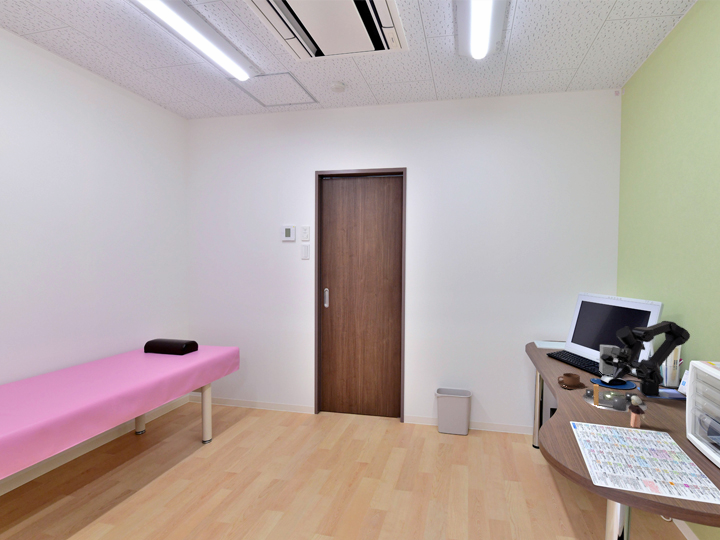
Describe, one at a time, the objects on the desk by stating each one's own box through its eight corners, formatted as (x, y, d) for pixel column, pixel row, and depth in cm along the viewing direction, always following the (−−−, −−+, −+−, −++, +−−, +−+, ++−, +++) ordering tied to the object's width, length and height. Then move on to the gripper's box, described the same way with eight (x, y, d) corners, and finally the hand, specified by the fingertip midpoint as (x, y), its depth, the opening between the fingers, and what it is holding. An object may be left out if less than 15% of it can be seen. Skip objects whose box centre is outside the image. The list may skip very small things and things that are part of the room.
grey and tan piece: (626, 407, 167) (626, 387, 167) (626, 411, 163) (626, 391, 163) (593, 402, 174) (593, 383, 173) (593, 405, 170) (593, 386, 169)
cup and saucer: (566, 392, 191) (566, 379, 191) (553, 384, 203) (553, 372, 203) (590, 391, 192) (590, 378, 192) (576, 383, 204) (576, 371, 204)
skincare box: (602, 376, 214) (602, 346, 213) (598, 372, 220) (598, 343, 220) (620, 377, 211) (620, 347, 211) (616, 373, 218) (616, 344, 217)
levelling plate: (636, 397, 183) (636, 386, 182) (656, 417, 160) (656, 405, 160) (577, 392, 190) (577, 381, 190) (588, 411, 168) (588, 399, 168)
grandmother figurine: (622, 425, 153) (622, 393, 153) (629, 424, 155) (629, 392, 154) (642, 434, 146) (643, 400, 146) (649, 432, 148) (650, 398, 147)
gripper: (602, 336, 187) (586, 362, 184) (643, 344, 170) (625, 374, 166) (614, 350, 190) (598, 377, 187) (655, 360, 173) (638, 389, 170)
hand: (614, 378), depth 177 cm, fingers closed
